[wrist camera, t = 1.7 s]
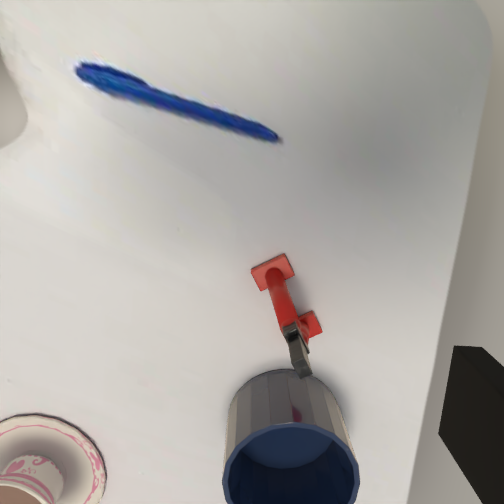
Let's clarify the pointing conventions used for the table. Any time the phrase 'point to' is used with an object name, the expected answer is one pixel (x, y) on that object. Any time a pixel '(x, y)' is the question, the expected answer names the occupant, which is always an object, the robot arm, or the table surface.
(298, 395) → the pen cup
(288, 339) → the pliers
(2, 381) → the table surface
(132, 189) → the table surface
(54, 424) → the teacup
